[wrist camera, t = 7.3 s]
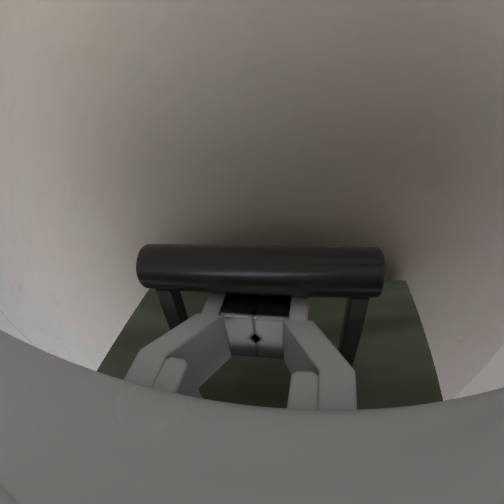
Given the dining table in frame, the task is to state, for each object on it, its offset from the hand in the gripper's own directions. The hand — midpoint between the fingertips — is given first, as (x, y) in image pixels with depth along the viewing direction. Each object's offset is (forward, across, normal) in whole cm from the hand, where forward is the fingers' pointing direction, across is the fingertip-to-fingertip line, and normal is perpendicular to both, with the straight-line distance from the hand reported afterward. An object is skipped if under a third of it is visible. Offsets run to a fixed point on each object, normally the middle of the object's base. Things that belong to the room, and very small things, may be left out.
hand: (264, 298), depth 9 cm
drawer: (+5, 0, +7) cm, 9 cm away
